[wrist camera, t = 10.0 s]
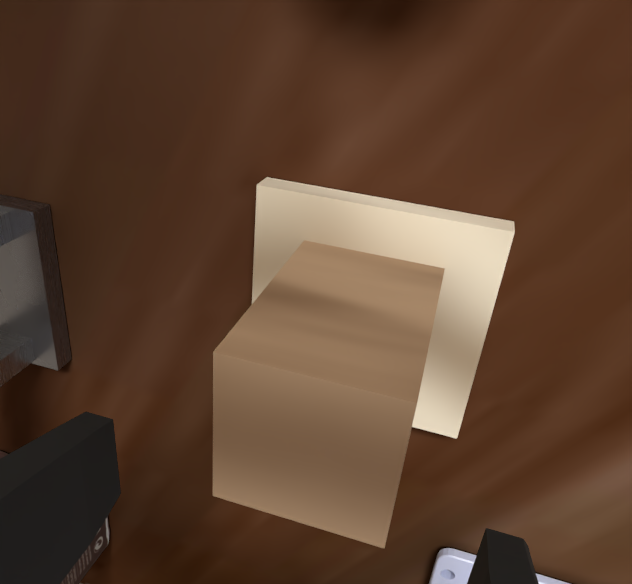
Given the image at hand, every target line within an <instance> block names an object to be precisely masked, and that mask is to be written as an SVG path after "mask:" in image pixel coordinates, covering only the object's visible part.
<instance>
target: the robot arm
mask: <svg viewBox="0 0 632 584" xmlns="http://www.w3.org/2000/svg"><path fill="white" fill-rule="evenodd" d="M120 494H121V491H120V482H119V472H118V462H117V453H116V443H115V434H114V424H113V419H109V418H106V417H103V416H99V415H96V414H92V413H89V412H85V413H83V414H81V415H79V416H77V417H75V418H73V419H71V420H69V421H68V422H66V423H64V424H62V425H60V426H58V427H57V428H55V429H53V430H51V431H49V432H48V433H46V434H44V435H42V436H40V437H39V438H37V439H35V440H33V441H32V442H30V443H28V444H26V445H24V446H23V447H21V448H19V449H17V450H15V451H13V452H12V453H10V454H8V455H6V456H4V457H2V458H1V459H0V584H60V583H61V582H62V581H63V580H64V578H65V577H66V576H67V574H68V573H69V572H70V570H71V569H72V568H73V566H74V565H75V564H76V562H77V561H78V560H79V558H80V557H81V556H82V554H83V553H84V552H85V550H86V549H87V548H88V546H89V545H90V544H91V542H92V541H93V539H94V538H95V536H96V534H97V533H98V531H99V530H100V528H101V526H102V525H103V523H104V521H105V520H106V518H107V516H108V515H109V513H110V511H111V509H112V508H113V506H114V504H115V502H116V501H117V499H118V497H119V496H120ZM429 584H570V583H567V582H563V581H560V580H557V579H553V578H550V577H547V576H543V575H540V574H537V573H535V570H534V566H533V563H532V559H531V556H530V552H529V548H528V545H527V544H526V542H525V541H524V539H522V538H519V537H515V536H512V535H508V534H505V533H501V532H498V531H495V530H491V529H488V528H486V530H485V533H484V536H483V539H482V541H481V544H480V547H479V550H478V553H477V555H473V554H470V553H467V552H463V551H460V550H457V549H453V548H444V549H442V550H440V551H439V552H438V554H437V558H436V561H435V564H434V568H433V571H432V574H431V578H430V581H429Z"/></svg>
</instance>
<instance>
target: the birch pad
mask: <svg viewBox="0 0 632 584" xmlns="http://www.w3.org/2000/svg"><path fill="white" fill-rule="evenodd" d="M514 233H515V229H514V221H508V220H502V219H497V218H491V217H486V216H480V215H475V214H469V213H463V212H458V211H452V210H447V209H441V208H436V207H430V206H425V205H419V204H413V203H408V202H402V201H397V200H391V199H386V198H380V197H375V196H369V195H363V194H358V193H352V192H347V191H341V190H336V189H330V188H325V187H319V186H313V185H308V184H302V183H297V182H291V181H286V180H280V179H275V178H269V177H266V178H265V179H264V180H262V181H261V182H260V183H258V184H257V192H256V216H255V240H254V264H253V288H252V304H253V303H254V301H255V300H256V299H257V298H258V296H259V295H260V294H261V293H262V291H263V290H264V289H265V288H266V287H267V285H268V284H269V283H270V282H271V280H272V279H273V278H274V277H275V276H276V274H277V273H278V272H279V271H280V269H281V268H282V267H283V266H284V264H285V263H286V262H287V261H288V260H289V258H290V257H291V256H292V255H293V253H294V252H295V251H296V250H297V249H298V247H299V246H300V245H301V244H302V242H303V241H304V240H306V241H310V242H315V243H320V244H325V245H330V246H335V247H340V248H345V249H350V250H355V251H360V252H365V253H370V254H375V255H380V256H385V257H390V258H395V259H400V260H405V261H410V262H415V263H420V264H425V265H430V266H435V267H440V268H445V270H444V275H443V280H442V285H441V290H440V295H439V300H438V304H437V309H436V314H435V319H434V324H433V329H432V333H431V338H430V343H429V348H428V353H427V358H426V363H425V367H424V372H423V377H422V382H421V387H420V392H419V396H418V401H417V406H416V410H415V415H414V419H413V424H412V427H414V428H418V429H422V430H426V431H430V432H434V433H437V434H441V435H445V436H449V437H453V438H457V437H458V433H459V430H460V426H461V422H462V419H463V415H464V412H465V408H466V405H467V401H468V397H469V394H470V390H471V387H472V383H473V380H474V376H475V372H476V369H477V365H478V362H479V358H480V355H481V351H482V347H483V344H484V340H485V337H486V333H487V329H488V326H489V322H490V319H491V315H492V312H493V308H494V304H495V301H496V297H497V294H498V290H499V287H500V283H501V279H502V276H503V272H504V269H505V265H506V261H507V258H508V254H509V251H510V247H511V244H512V240H513V236H514Z"/></svg>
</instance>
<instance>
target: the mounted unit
mask: <svg viewBox="0 0 632 584" xmlns="http://www.w3.org/2000/svg"><path fill="white" fill-rule="evenodd" d="M71 359H72V357H71V350H70V343H69V336H68V329H67V322H66V315H65V309H64V302H63V295H62V288H61V281H60V274H59V267H58V260H57V253H56V246H55V239H54V232H53V225H52V218H51V211H50V205H49V204H44V203H39V202H34V201H30V200H25V199H20V198H15V197H10V196H5V195H1V194H0V387H1V386H2V385H3V384H5V383H6V382H7V381H9V380H10V379H11V378H12V377H14V376H15V375H16V374H18V373H19V372H20V371H22V370H23V369H24V368H25V367H27V366H28V365H29V364H31V363H32V364H36V365H40V366H43V367H47V368H51V369H54V370H59V369H61V368H62V367H63V366H64V365H65V364H67V363H68V362H69V361H70V360H71Z"/></svg>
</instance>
